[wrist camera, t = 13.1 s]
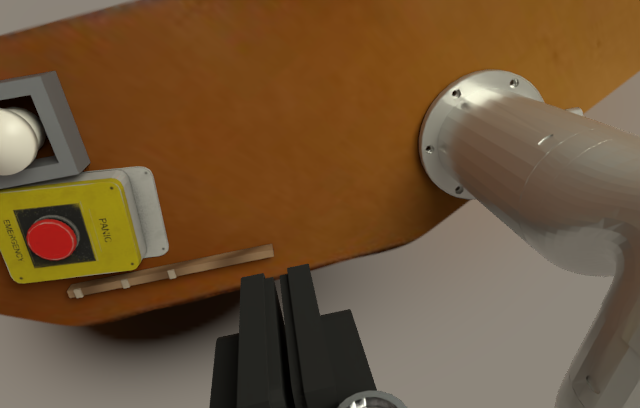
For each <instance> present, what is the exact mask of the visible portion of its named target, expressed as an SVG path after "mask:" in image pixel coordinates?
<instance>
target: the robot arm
mask: <svg viewBox="0 0 640 408" xmlns="http://www.w3.org/2000/svg"><path fill="white" fill-rule="evenodd" d="M511 80H512V82H511ZM510 82H511V84H510ZM454 90H455V94H454V95H452V92H453V91H454ZM427 146H429V148H428V149H427V150H426V148H427ZM419 154H420V159H421V163H422V165H423V167H424V170H425V172H426V173H427V175H428V176H429V177H430V179H431V180H432V181H433V182H434V183H435V184H436V185H437V186H438V187H439V188H440V189H442V190H443V191H445V192H446V193H448V194H450V195H452V196H455V197H457V198H463V199H477V200H478V201H479V202H481V203H482V204H483V205H484V206H485V207H486V208H488V209H489V210H490V211H491V212H492V213H493V214H494V215H496V216H497V217H498V218H499V219H500V220H501V221H502V222H504V223H505V224H506V225H507V226H508V227H509V228H510V229H512V230H513V231H514V232H515V233H516V234H517V235H519V236H520V237H521V238H522V239H523V240H524V241H525V242H526V243H528V244H529V245H530V246H531V247H532V248H534V249H535V250H536V251H537V252H538V253H539V254H541V255H542V256H543V257H544V258H546V259H547V260H548V261H550V262H551V263H553V264H554V265H556V266H558V267H560V268H562V269H565V270H567V271H571V272H574V273H577V274H582V275H589V276H604V277H607V276H614V279H613V282H612V284H611V286H610V288H609V290H608V292H607V294H606V296H605V298H604V300H603V302H602V306H601V308H600V310H599V312H598V314H597V316H596V318H595V320H594V321H593V323H592V325H591V327H590V329H589V331H588V333H587V334H586V337H585V338H584V340H583V342H582V344H581V346H580V348H579V349H578V352H577V353H576V355H575V357H574V359H573V361H572V363H571V365H570V367H569V369H568V371H567V373H566V375H565V377H564V379H563V382H562V384H561V386H560V389H559V391H558V394H557V398H556V402H555V408H640V136H639V135H635V134H633V133H630V132H627V131H624V130H621V129H618V128H615V127H612V126H609V125H607V124H604V123H601V122H598V121H595V120H592V119H589V118H586V117H583V112H582V110H581V109H580V108H579V107H576V108H571V109H566V110H563V109H560V108H557V107H555V106H552V105H549V104H546V103H544V100H543V99H542V97H541V95H540V93H539V91H538V90H537V89H536V88H535V87H534V86H533V85H532V84H531V82H529V81H528V80H526V79H525V78H523V77H522V76H519V75H517V74H514V73H511V72H508V71H503V70H488V69H487V70H482V71H476V72H473V73H470V74H468V75H465V76H463V77H461V78H459V79H458V80H456V81H454V82H453V83H451V84H450V85H449V86H448V87H446V88H445V89H444V90H443V91H442V92H441V93H440V94H439V95H438V96H437V98H436V99H435V100H434V101H433V103H432V104H431V106H430V108H429V109H428V111H427V113H426V115H425V117H424V120H423V123H422V125H421V129H420V135H419ZM287 271H288V274H285V275H281V276H280V284H281V293H282V303H283V312H284V321H285V325H284V321H283V316H282V312H281V308H280V303H279V299H278V295H277V291H276V287H275V282H274V279H273V277H271V278H266V279H265V276H264V274H263V273H262V274H257V275H252V276H247V277H242V278H241V293H240V297H241V298H240V325H239V333H237V334H233V335H228V336H223V337H219V338H218V339H217V341H216V349H215V359H214V368H213V378H212V388H211V398H210V408H407V407H406V406H405V404H404V403H403V402H402V401H401V400H400V399H398V398H397V397H395V396H393V395H392V394H389V393H386V392H382V391H377V389H376V386H375V383H374V380H373V377H372V374H371V371H370V368H369V365H368V362H367V358H366V355H365V352H364V349H363V346H362V343H361V340H360V337H359V334H358V331H357V328H356V325H355V322H354V319H353V316H352V313H351V310H350V309H348V310H344V311H339V312H335V313H330V314H325V315H321V316H320V313H319V309H318V304H317V300H316V296H315V291H314V286H313V282H312V277H311V273H310V268H309V264H305V265H300V266H295V267H290V268H287Z"/></svg>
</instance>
